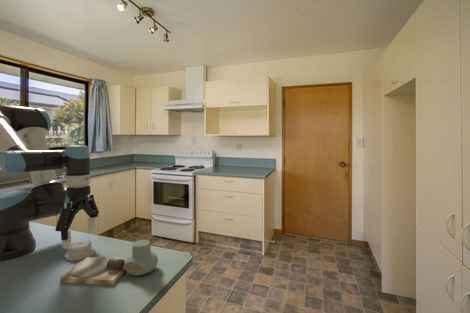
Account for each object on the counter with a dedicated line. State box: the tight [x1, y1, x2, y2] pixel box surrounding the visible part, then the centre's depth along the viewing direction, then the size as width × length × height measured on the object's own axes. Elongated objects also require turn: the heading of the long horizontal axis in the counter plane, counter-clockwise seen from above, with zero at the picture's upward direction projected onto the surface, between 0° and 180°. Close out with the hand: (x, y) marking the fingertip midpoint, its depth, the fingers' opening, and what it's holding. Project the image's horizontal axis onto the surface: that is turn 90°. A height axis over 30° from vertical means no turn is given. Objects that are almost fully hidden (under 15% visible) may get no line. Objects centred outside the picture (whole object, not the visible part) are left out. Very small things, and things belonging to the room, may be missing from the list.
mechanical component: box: [64, 239, 96, 262], centre depth 90 cm, size 10×4×10 cm
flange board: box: [59, 256, 127, 286], centre depth 78 cm, size 17×13×5 cm
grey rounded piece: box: [124, 239, 159, 277], centre depth 80 cm, size 11×8×10 cm
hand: (80, 239), depth 89 cm, fingers open, 13 cm apart
